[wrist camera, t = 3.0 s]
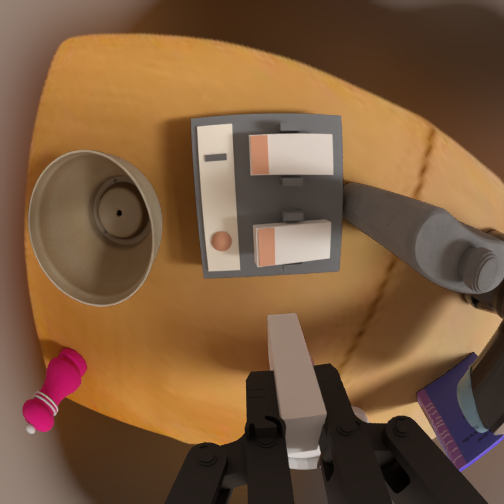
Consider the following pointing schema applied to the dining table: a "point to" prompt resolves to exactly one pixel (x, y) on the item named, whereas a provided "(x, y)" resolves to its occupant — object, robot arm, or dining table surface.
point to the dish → (311, 457)
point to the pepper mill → (54, 390)
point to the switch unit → (259, 192)
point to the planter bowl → (94, 226)
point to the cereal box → (454, 418)
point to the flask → (427, 238)
